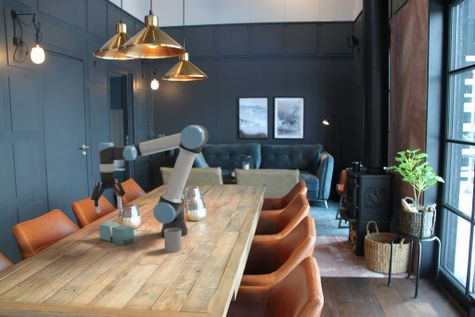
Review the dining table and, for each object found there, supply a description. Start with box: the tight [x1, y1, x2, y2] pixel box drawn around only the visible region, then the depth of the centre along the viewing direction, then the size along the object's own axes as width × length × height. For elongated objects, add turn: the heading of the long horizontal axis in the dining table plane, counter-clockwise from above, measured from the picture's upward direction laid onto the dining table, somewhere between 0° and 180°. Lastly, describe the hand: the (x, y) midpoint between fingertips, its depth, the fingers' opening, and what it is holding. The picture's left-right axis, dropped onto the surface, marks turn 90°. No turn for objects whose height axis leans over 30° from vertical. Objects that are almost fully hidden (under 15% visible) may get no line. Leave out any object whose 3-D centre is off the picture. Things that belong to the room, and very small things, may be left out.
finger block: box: [98, 221, 121, 242], centre depth 218 cm, size 10×7×8 cm
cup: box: [163, 228, 183, 253], centre depth 200 cm, size 8×8×10 cm
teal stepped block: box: [110, 224, 135, 247], centre depth 215 cm, size 20×7×8 cm, turn 53°
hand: (109, 210), depth 217 cm, fingers open, 13 cm apart
